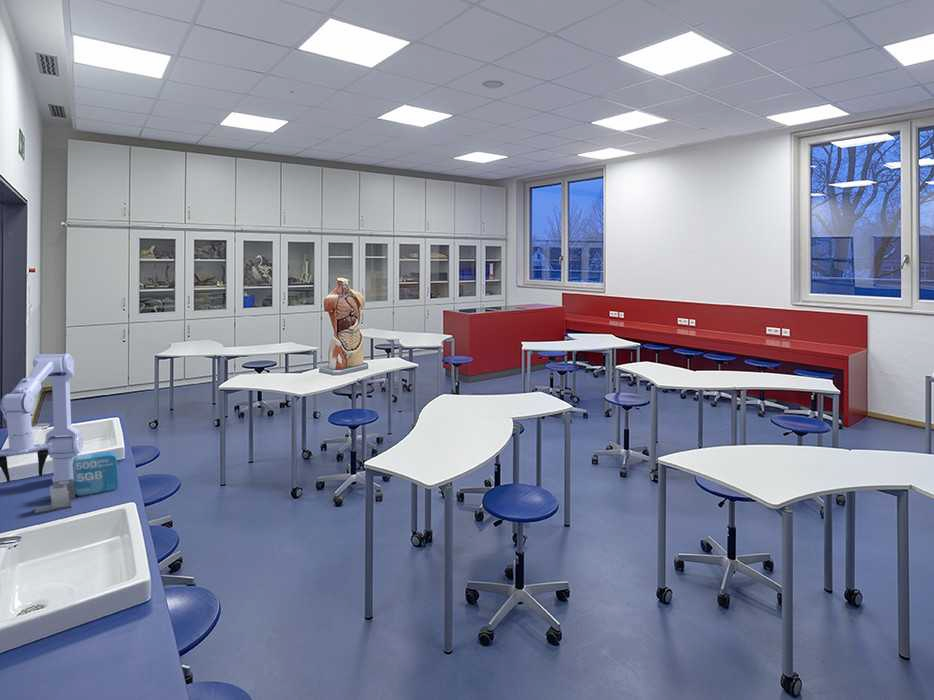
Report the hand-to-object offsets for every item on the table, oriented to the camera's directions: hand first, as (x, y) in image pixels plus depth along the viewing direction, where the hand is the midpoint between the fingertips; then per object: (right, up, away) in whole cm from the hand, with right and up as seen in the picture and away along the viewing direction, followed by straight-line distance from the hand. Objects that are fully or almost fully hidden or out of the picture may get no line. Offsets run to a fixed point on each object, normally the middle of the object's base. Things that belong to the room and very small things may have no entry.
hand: (24, 478), depth 176 cm
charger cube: (+5, -9, +11) cm, 15 cm away
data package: (+11, -8, +17) cm, 22 cm away
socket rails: (+3, -9, +10) cm, 14 cm away
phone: (+7, -10, +2) cm, 13 cm away
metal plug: (+8, -9, +3) cm, 13 cm away
